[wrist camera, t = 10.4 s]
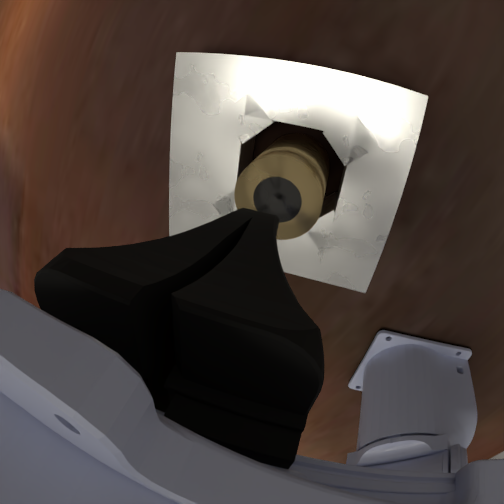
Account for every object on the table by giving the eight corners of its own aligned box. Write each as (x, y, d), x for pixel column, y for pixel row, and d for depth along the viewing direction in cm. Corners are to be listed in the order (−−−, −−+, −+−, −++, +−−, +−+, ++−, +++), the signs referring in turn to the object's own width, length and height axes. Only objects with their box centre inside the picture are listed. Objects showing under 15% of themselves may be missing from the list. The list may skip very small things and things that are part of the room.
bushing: (337, 143, 18) (332, 171, 13) (320, 202, 20) (309, 250, 15) (272, 126, 18) (241, 147, 13) (260, 185, 21) (228, 226, 16)
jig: (415, 93, 15) (428, 96, 12) (364, 266, 21) (365, 293, 19) (199, 53, 17) (176, 52, 14) (188, 221, 23) (169, 240, 21)
